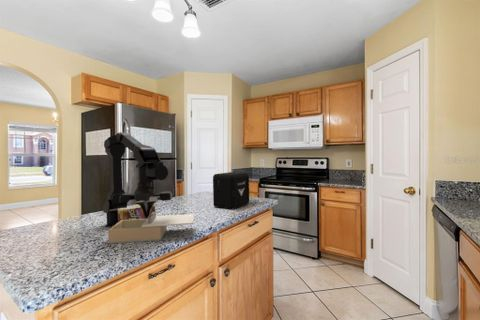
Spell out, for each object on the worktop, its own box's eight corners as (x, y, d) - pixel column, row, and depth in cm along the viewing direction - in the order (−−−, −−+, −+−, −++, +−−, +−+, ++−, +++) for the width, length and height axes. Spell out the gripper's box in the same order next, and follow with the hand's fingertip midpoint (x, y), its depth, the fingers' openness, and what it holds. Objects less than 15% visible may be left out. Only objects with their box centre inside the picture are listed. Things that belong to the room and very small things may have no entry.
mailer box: (108, 243, 84) (108, 229, 84) (121, 232, 97) (121, 220, 96) (160, 240, 86) (160, 226, 86) (166, 229, 99) (166, 217, 99)
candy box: (156, 224, 106) (118, 231, 98) (154, 222, 110) (118, 228, 102) (155, 205, 106) (118, 210, 98) (153, 203, 110) (117, 208, 102)
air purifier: (233, 210, 132) (232, 175, 131) (213, 207, 139) (212, 174, 139) (251, 203, 148) (250, 172, 148) (232, 201, 156) (231, 172, 156)
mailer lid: (141, 227, 85) (140, 219, 85) (150, 217, 98) (149, 210, 98) (192, 224, 88) (192, 216, 88) (194, 215, 101) (194, 208, 101)
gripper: (112, 182, 82) (114, 226, 82) (167, 180, 85) (168, 222, 85) (124, 179, 93) (125, 217, 93) (172, 177, 96) (172, 215, 96)
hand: (147, 218), depth 92 cm, fingers closed
